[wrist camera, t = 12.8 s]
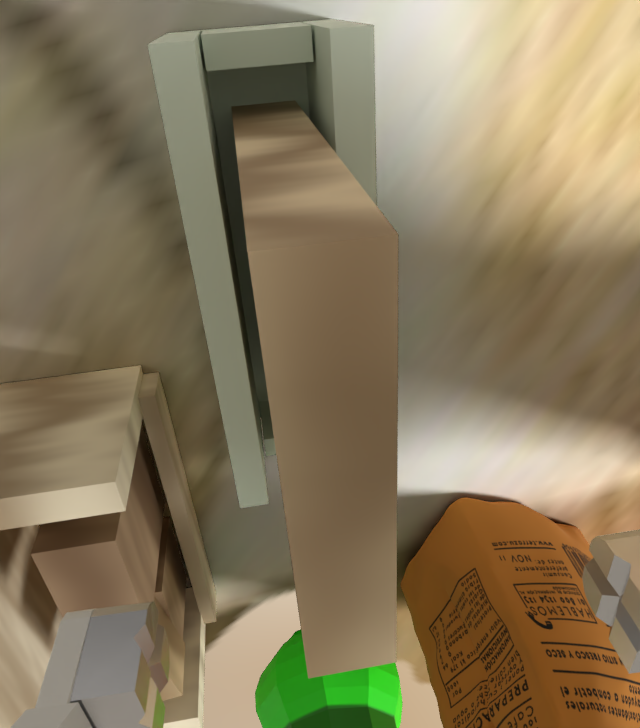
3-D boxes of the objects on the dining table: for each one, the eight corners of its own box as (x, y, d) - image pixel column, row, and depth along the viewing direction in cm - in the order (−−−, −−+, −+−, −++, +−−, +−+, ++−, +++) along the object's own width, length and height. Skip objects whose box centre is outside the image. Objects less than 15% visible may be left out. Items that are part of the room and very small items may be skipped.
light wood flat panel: (295, 100, 22) (398, 234, 9) (317, 367, 28) (396, 662, 16) (231, 106, 22) (247, 251, 9) (268, 374, 28) (308, 678, 15)
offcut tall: (139, 416, 29) (115, 540, 23) (164, 501, 32) (150, 632, 26) (74, 425, 29) (30, 554, 22) (106, 510, 32) (76, 645, 25)
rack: (156, 363, 28) (129, 519, 19) (217, 598, 37) (217, 771, 29) (-62, 392, 27) (-189, 569, 18) (59, 625, 36) (11, 811, 28)
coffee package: (514, 613, 43) (734, 1069, 25) (375, 579, 39) (517, 1104, 20) (604, 524, 39) (946, 989, 21) (461, 474, 35) (736, 1011, 16)
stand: (332, 18, 21) (373, 25, 16) (350, 395, 30) (380, 486, 25) (167, 33, 21) (147, 44, 15) (236, 411, 30) (240, 508, 24)
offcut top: (154, 595, 29) (148, 647, 27) (185, 643, 31) (182, 695, 29) (96, 611, 29) (85, 665, 27) (131, 658, 31) (124, 711, 29)
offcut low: (169, 516, 33) (161, 591, 29) (186, 575, 36) (182, 651, 32) (111, 525, 33) (96, 602, 29) (134, 584, 36) (122, 662, 31)
